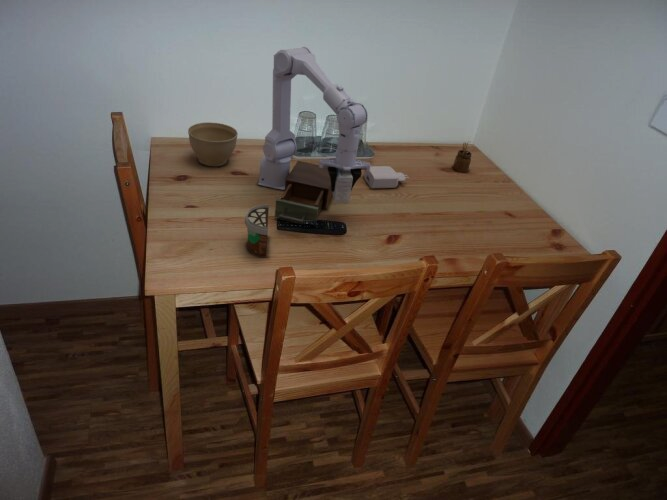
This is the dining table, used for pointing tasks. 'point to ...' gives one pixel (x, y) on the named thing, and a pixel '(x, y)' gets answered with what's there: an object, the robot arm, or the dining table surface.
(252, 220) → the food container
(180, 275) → the dining table surface
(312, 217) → the drawer
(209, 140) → the planter bowl
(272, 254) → the dining table surface
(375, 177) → the charger
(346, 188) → the medicine box
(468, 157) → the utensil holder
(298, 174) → the cabinet
